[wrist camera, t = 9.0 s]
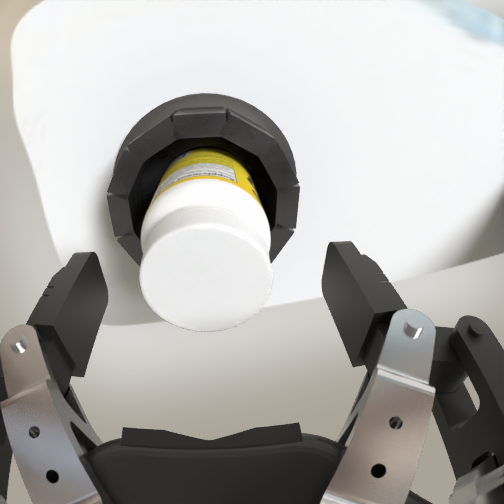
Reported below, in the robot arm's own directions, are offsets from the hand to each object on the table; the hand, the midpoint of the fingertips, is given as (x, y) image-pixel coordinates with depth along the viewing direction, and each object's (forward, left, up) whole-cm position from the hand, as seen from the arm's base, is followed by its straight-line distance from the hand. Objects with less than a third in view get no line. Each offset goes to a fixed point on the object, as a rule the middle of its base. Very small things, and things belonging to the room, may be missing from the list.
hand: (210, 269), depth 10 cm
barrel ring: (0, 0, -7) cm, 7 cm away
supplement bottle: (0, 0, -7) cm, 7 cm away
